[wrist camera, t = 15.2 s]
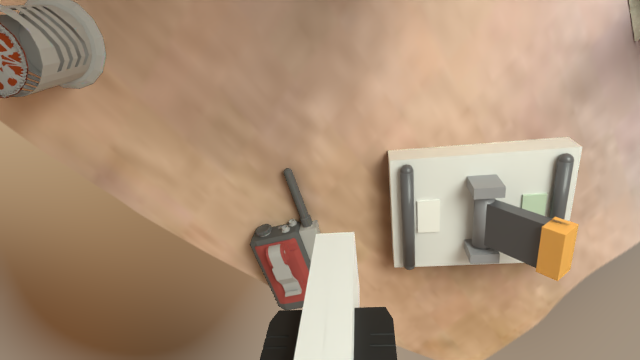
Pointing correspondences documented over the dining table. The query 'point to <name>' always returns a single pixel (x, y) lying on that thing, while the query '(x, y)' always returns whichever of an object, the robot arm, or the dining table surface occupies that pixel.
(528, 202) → the panel
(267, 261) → the walkie-talkie
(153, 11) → the dining table surface
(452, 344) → the dining table surface
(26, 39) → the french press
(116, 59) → the dining table surface
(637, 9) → the condiment
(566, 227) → the lever
